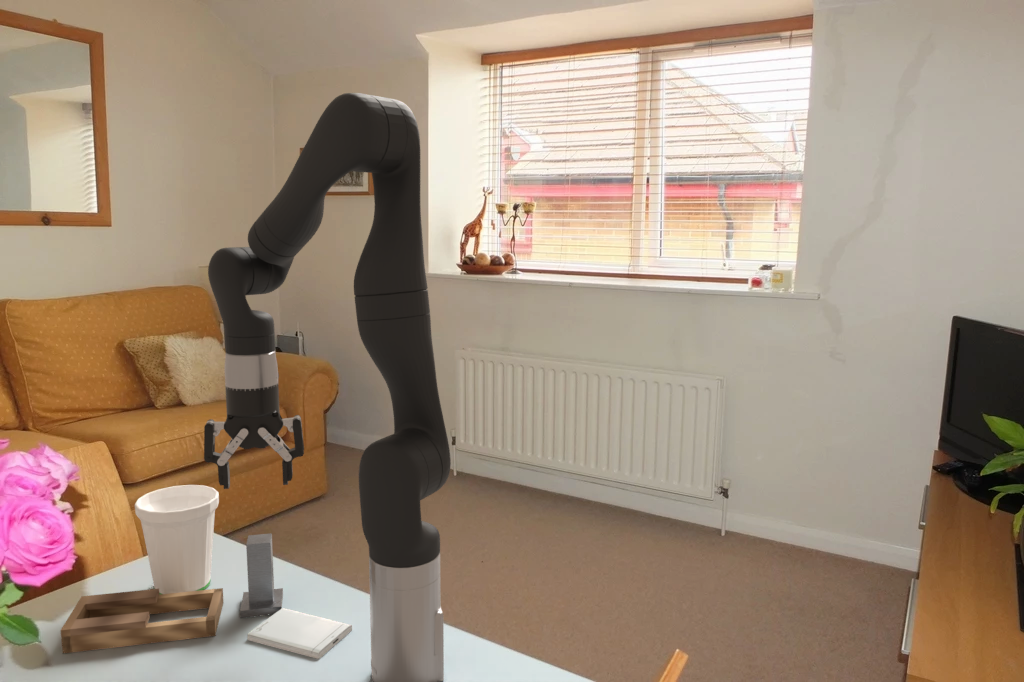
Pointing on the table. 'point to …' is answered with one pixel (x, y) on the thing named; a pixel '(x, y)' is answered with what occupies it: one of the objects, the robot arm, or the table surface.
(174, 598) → the rail
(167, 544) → the cup
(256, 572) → the t peg
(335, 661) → the table surface
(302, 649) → the hard drive
